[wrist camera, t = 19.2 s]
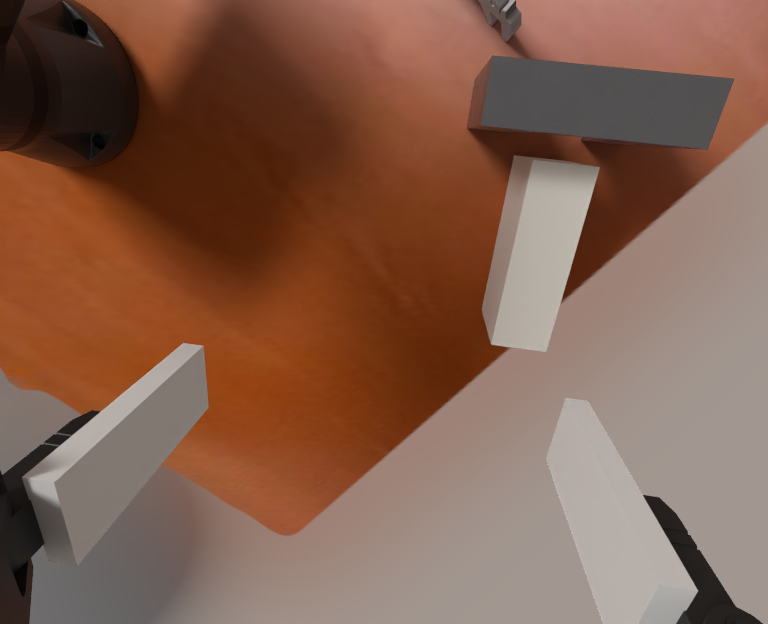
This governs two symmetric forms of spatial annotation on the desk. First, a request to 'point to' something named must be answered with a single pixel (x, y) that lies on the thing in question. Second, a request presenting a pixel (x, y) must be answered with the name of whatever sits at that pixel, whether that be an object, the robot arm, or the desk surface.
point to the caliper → (502, 15)
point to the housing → (598, 103)
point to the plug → (535, 249)
